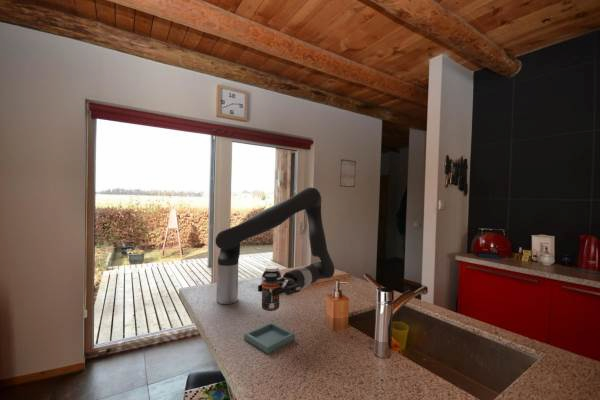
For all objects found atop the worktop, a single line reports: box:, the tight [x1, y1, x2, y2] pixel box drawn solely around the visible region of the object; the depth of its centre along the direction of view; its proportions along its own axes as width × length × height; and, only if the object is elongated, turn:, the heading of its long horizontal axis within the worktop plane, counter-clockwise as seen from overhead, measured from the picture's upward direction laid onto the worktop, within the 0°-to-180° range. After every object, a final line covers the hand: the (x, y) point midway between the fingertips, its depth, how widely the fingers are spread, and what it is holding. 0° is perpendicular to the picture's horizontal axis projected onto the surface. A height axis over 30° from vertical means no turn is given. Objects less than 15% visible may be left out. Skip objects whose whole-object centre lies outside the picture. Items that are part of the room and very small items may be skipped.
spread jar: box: [261, 265, 284, 284], centre depth 145 cm, size 12×11×12 cm
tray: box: [243, 321, 296, 356], centre depth 92 cm, size 12×12×2 cm
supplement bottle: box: [261, 273, 280, 312], centre depth 92 cm, size 6×6×11 cm
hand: (265, 290), depth 90 cm, fingers closed on supplement bottle, 6 cm apart
